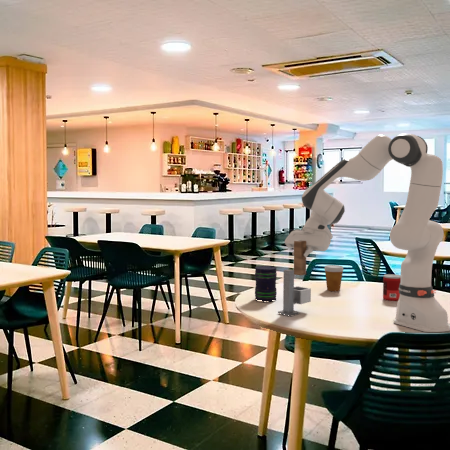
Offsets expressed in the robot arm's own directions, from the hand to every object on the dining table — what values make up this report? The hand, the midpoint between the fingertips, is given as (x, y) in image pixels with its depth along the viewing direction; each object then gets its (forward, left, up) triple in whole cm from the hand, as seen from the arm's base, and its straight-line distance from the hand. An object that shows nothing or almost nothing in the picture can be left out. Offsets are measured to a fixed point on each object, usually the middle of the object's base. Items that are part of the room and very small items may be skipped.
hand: (299, 255), depth 214 cm
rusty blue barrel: (+24, +4, -23) cm, 34 cm away
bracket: (-2, +3, -23) cm, 23 cm away
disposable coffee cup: (+32, -37, -23) cm, 54 cm away
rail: (0, -1, -8) cm, 8 cm away
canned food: (+5, -51, -23) cm, 56 cm away
